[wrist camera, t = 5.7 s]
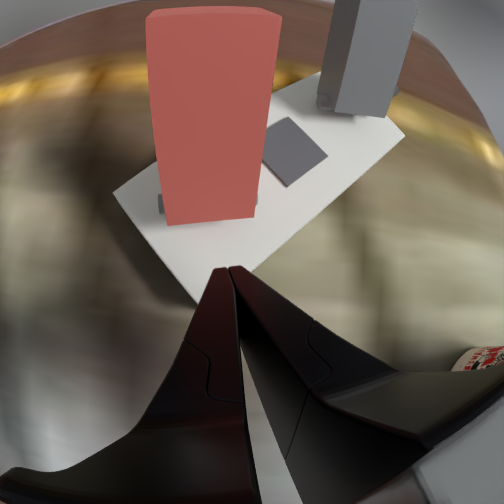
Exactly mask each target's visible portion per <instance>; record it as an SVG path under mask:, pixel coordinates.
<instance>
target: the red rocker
mask: <svg viewBox="0 0 504 504" xmlns="http://www.w3.org/2000/svg"><path fill="white" fill-rule="evenodd" d="M281 22H282V16H279V15H277V14H275V13H272V12H269V11H267V10H264V9H262V8H256V7H236V6H201V7H181V8H169V9H159V10H154V11H153V12H152V13H151V14H150V15H149V16H147V17H146V48H147V66H148V81H149V93H150V104H151V114H152V124H153V133H154V141H155V149H156V157H157V164H158V171H159V178H160V185H161V191H162V194H158V208H159V214H160V215H161V214H165V215H166V221H167V226H173V225H183V224H192V223H202V222H212V221H222V220H233V219H244V218H254V214H255V207H256V205H257V204H258V185H259V178H260V171H261V164H262V157H263V150H264V142H265V135H266V128H267V121H268V114H269V107H270V100H271V93H272V86H273V79H274V72H275V64H276V57H277V50H278V43H279V36H280V29H281Z"/></svg>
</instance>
